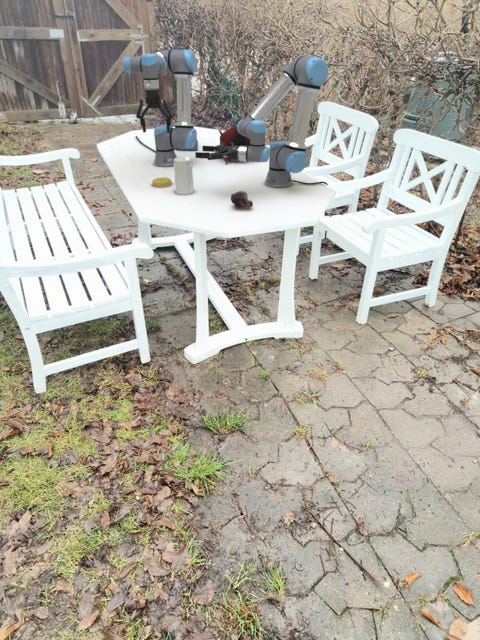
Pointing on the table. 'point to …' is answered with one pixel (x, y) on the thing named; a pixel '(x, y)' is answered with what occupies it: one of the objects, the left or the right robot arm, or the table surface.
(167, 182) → the lid
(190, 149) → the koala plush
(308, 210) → the table surface
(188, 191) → the jar
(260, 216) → the table surface
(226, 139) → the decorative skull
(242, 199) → the rock
